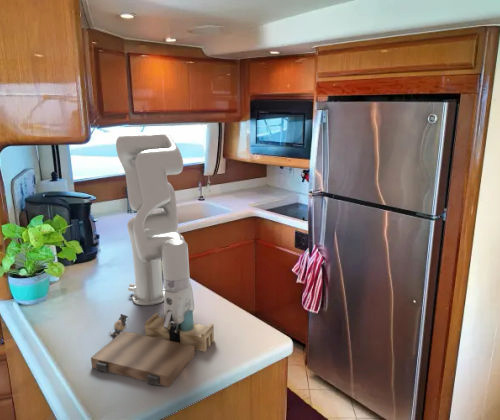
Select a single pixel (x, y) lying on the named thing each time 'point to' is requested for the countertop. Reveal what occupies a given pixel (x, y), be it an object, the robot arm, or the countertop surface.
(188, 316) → the teal cylinder
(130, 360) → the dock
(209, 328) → the light wood long block
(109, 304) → the countertop surface
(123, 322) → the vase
